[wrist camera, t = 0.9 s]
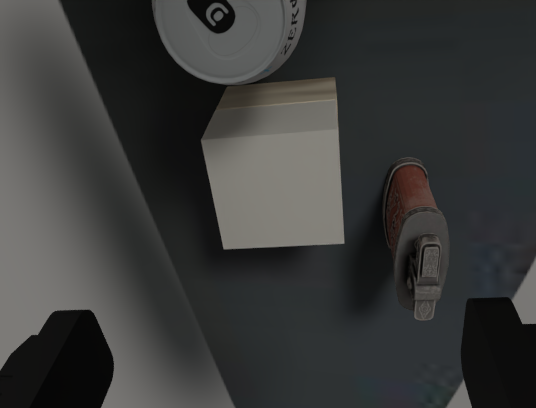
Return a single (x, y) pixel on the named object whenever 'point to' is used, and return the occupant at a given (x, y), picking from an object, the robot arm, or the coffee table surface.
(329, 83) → the birch block
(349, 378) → the coffee table surface
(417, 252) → the lighter
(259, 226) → the cream block
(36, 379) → the robot arm
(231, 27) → the energy drink can
